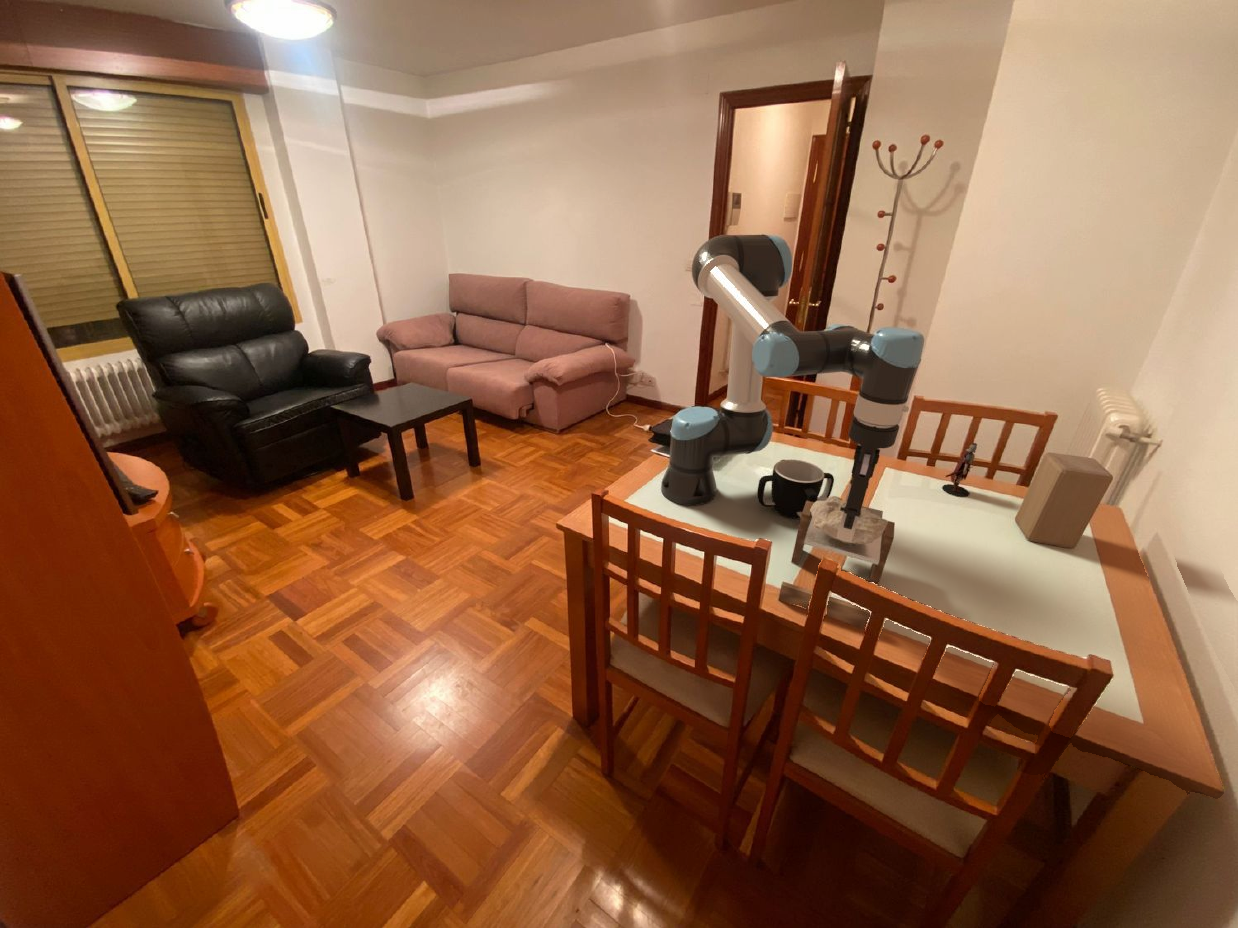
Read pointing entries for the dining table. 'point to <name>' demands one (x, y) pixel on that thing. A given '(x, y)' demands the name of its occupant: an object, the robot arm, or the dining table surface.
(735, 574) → the dining table surface
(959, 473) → the figurine
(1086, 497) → the wooden block
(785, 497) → the mug
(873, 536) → the stone
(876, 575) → the frame
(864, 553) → the trapdoor
